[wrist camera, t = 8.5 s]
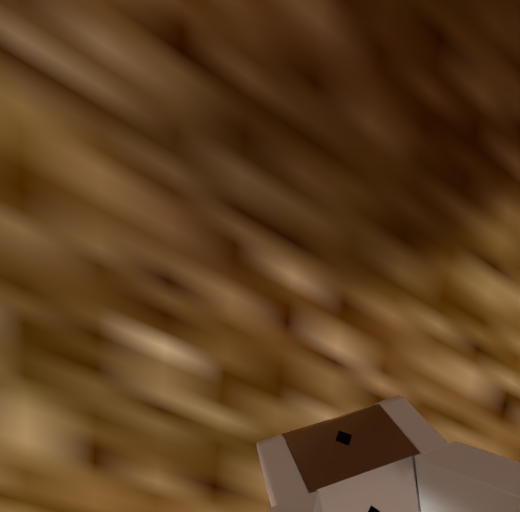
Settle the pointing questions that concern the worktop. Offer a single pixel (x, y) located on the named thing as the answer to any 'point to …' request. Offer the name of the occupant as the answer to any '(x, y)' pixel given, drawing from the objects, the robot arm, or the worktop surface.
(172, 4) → the worktop surface
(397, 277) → the worktop surface
